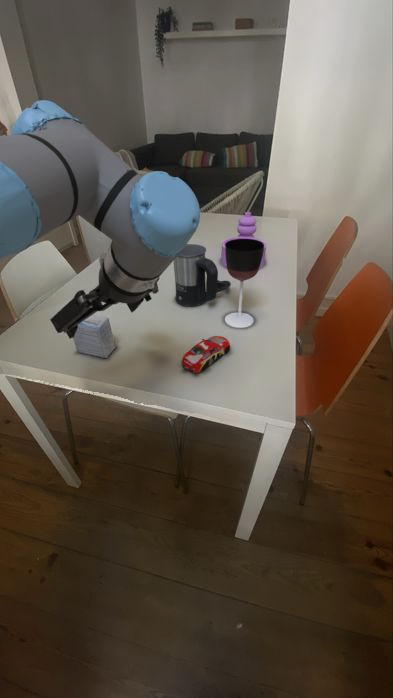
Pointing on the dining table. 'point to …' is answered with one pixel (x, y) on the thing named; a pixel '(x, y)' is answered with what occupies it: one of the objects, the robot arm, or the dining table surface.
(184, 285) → the milk frother
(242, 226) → the purple rounded knobbed piece
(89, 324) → the medicine box
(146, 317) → the dining table surface
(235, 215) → the dining table surface
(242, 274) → the wineglass
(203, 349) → the race car
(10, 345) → the dining table surface
